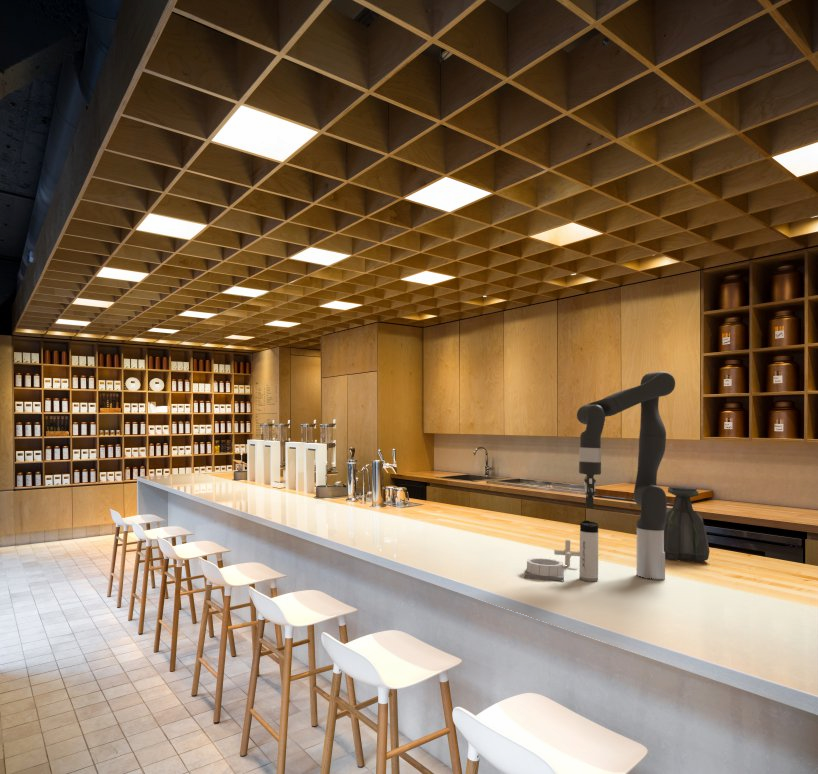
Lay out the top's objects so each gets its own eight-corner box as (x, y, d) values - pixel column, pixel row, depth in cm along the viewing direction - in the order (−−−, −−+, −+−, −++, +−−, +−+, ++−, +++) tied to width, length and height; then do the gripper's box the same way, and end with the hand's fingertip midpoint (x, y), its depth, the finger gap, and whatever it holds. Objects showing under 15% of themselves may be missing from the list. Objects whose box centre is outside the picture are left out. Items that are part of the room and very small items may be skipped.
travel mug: (594, 577, 206) (594, 520, 208) (600, 582, 199) (601, 523, 201) (576, 577, 206) (577, 520, 207) (582, 581, 199) (583, 522, 201)
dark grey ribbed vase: (664, 560, 242) (664, 488, 244) (656, 553, 258) (657, 485, 260) (710, 564, 238) (710, 490, 240) (700, 556, 253) (700, 487, 256)
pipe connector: (582, 570, 217) (582, 543, 218) (554, 568, 219) (555, 541, 220) (579, 564, 227) (580, 538, 227) (553, 562, 229) (554, 537, 229)
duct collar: (563, 573, 211) (563, 560, 212) (563, 581, 198) (563, 567, 199) (527, 569, 215) (527, 556, 215) (524, 577, 202) (524, 563, 202)
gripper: (602, 461, 198) (601, 509, 197) (599, 460, 212) (599, 505, 211) (579, 460, 200) (578, 508, 199) (578, 459, 214) (577, 503, 213)
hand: (589, 506), depth 205 cm, fingers open, 8 cm apart
